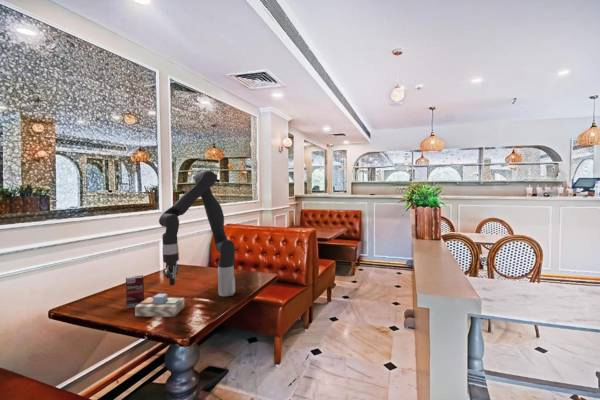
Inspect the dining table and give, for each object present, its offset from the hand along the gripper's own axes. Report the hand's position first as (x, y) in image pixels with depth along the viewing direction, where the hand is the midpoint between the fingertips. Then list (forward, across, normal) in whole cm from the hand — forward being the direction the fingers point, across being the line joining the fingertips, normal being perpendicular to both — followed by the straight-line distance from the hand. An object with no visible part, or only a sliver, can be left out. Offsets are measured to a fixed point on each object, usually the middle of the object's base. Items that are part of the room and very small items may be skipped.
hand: (172, 285), depth 156 cm
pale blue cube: (+9, 0, +7) cm, 12 cm away
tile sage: (+12, 0, 0) cm, 13 cm away
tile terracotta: (+12, 0, +13) cm, 18 cm away
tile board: (+14, 0, +7) cm, 16 cm away
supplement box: (+14, +7, +25) cm, 29 cm away
